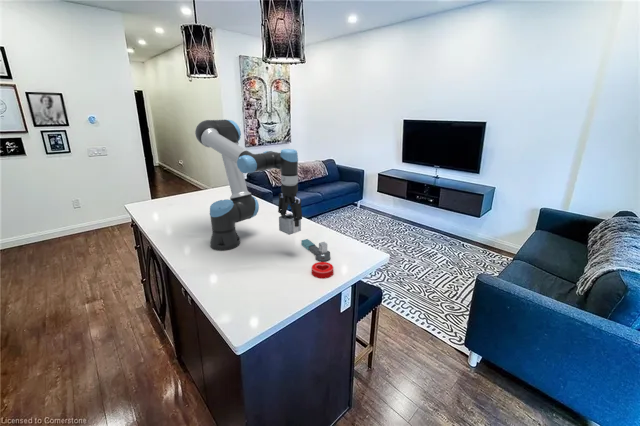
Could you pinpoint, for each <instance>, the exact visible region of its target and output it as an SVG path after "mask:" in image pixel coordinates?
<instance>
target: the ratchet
mask: <svg viewBox="0 0 640 426" xmlns="http://www.w3.org/2000/svg"><path fill="white" fill-rule="evenodd" d="M300 241H301V246H302V247H303V248H305V249H306V250H307V251H309V252H311V254H313V255H314V257H315V260H316V261H317V262H327V263H328V262H329V261H330V260H331V252H330V250H328V243H327V242H325V241H321V242H318V246H316V244H315V243H314V242H313V241H311V240H309V238H305V239H302V240H300Z"/></svg>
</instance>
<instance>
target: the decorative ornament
mask: <svg viewBox="0 0 640 426" xmlns="http://www.w3.org/2000/svg"><path fill="white" fill-rule="evenodd" d="M334 268H335V267H334V266H333V264H332V263H330V262H328V261H327V262H319V261H317V262H315V263H313V264H312V265H311V275H312V276H313V277H314V278H317V279H329V278H331V277H332V276H333V275H334V270H335V269H334Z"/></svg>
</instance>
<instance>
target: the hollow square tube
mask: <svg viewBox="0 0 640 426" xmlns="http://www.w3.org/2000/svg"><path fill="white" fill-rule="evenodd" d="M296 218H297V217H296ZM293 220H294V217H293V213H292V212H290V213H287V214H285V215H283V216H278V231H280V232H282V233H283V234H286V235H289V236H290V235H293V234H294V233H293ZM301 231H302V219H301V220H299V226H298V232H297V233H299V232H301Z"/></svg>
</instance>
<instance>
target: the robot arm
mask: <svg viewBox="0 0 640 426" xmlns="http://www.w3.org/2000/svg"><path fill="white" fill-rule="evenodd" d="M195 127H196V128H195V131H194V133H195V138H196V140H197V141H198V142H199V143H200V144H201V145H202V146H204V147H206V148H211V149H213V150H214V151H216V152H217V153H219V154H220V155H221V158H222V161H223V165H224V169H225V172H226V177H227V181H228V185H229V188H230V192H231V196H230V197H229V199H220V200H217V201H214V202H212V203H211V204H210V207H209V216H210V224H211V231H212V232H211V233H212V234H211V237H210V241H209V243H210V244H209V245H210V248H211V249H212V250H215V251H228V250H233V249H235V248H237V247H239V246H240V245H241V239H240V236H239V234H238V232H237V230H236V224H237V223H240V222H243V221H245V220H250V219H252V218H254V217H256V216H257V215H258V213H259V210H260V209H259V208H260V207H259V206H260V205H259V201H258V199H257V197H255V196H253V195H252V192H250V191H249V190H248V186H247V183H246V179H245V176H244V175H245V174H252V173H257V172H261V171H266V170H272V169H275V170H279V171H280V175H281V176H280V177H281V178H280V179H281V181H280V183H281V185H280V186H281V187H280V188H281V189H280V191H281V192H280V193H278V207H277V208H278V209H277V212H278V214H280V215H281V216H283V215H287V214H288V213H287V211H288V207H290V209H291V214H293V217H294V220H293V234H296V233H299V232H298V226H299V220H301V221H302V219H303V211H302V198H298V196H297V194H298V191H299V186H298V184H299V179H298V178H299V177H298V176H299V175H298V174H299V173H298V169H299V168H298V164H299V157H298V150H296V149H294V148H293V149H292V148H283V149H281V150H280V152H277V151H272V150H270V151H269V150H266V151H265V150H264V151H263V152H262V153H252V152H250V151H249V150H247V149H246V148H244V147H243V146H240V145H239V144H240V143H239V141H240V140H241V135H242V133H241V128H240V126H239V125H238V123H237V122H235V121H234V120H231V119H206V120H202V121H200V122H199V123H198V124H197V126H195ZM296 217H297V218H296Z"/></svg>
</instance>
